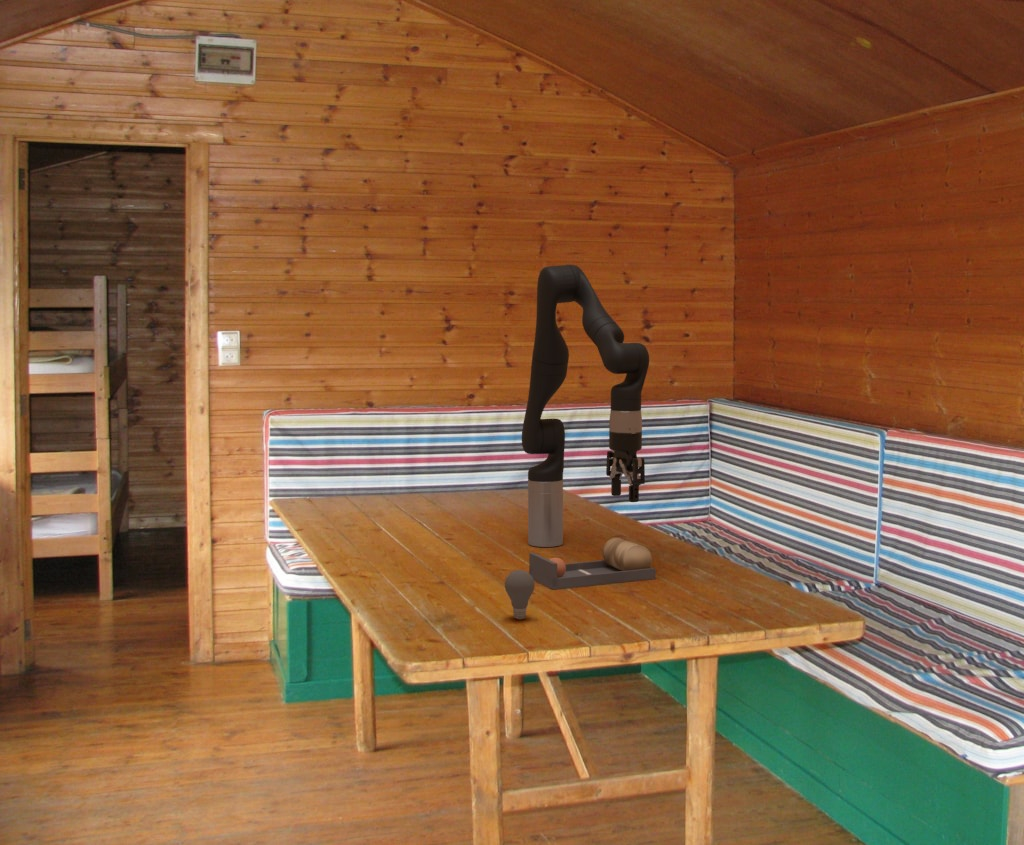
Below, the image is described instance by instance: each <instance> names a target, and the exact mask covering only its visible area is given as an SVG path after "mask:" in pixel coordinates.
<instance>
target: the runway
mask: <svg viewBox="0 0 1024 845" xmlns="http://www.w3.org/2000/svg"><path fill="white" fill-rule="evenodd" d="M528 554H529V555H528V556H529V557H528V560H529V561H528V563H529V564H528V565H529V572H528V573H529V574H530V575H531V576H532V577H533V579H534V582H535V581H536V582H537V583H539V584H541V585H543V586H544V587H547V588H549V589H551V590H554V591H555V590H563V589H572V588H573V589H574V588H583V587H590V586H591V587H593V586H599V585H600V586H601V585H608V584H609V585H610V584H619V583H627V582H639V581H647V580H655V579H656V570H657V569H656V568H655V567H650V568H647V569H637V570H628V571H621V570H619V569H617V568H614V567H612V566H610V565H608V564H607V563H606V562H605V561H604V559H600V560H590V561H581V562H579V561H578V562H572V563H570V562H569V563H565V565H566V571H565V574H564V575H563V576H562V577H560V578H557V563H555V562H553V561H550V560H549V559H548V558H547V557H544V556H542V555H540V554H537V553H535V552H529V553H528Z"/></svg>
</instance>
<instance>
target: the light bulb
mask: <svg viewBox="0 0 1024 845" xmlns="http://www.w3.org/2000/svg"><path fill="white" fill-rule="evenodd" d="M535 586H536V584H535V580H534V579H533V577H532V576H531V575H530V574H529V572H528V571H526V570H523V569H516V570H515V569H514V570H513V571H511V572H509V574H508V575H507V577H506V578H505V581H504V588H505V592H506V593H507V595H508V597H509V599H510V602H511V603H510V604H511V606H512V613H513V615H512V616H513V618H514V619H517V620H519V621H521V620H523V619H526V618H527V607H528V605H529V600H530V597H531V596H532V594H533V593H534V590H535Z"/></svg>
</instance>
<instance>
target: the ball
mask: <svg viewBox="0 0 1024 845" xmlns="http://www.w3.org/2000/svg"><path fill="white" fill-rule="evenodd" d="M548 560H550V561H553V562H555V563H557V578H560V577H562V576H563V575H564V574H565V571H566V565H565V564H566V563H565V561H564V560H562V559H561V558H559V557H550V558H549V559H548Z"/></svg>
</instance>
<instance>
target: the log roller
mask: <svg viewBox="0 0 1024 845" xmlns="http://www.w3.org/2000/svg"><path fill="white" fill-rule="evenodd" d="M601 552H602V554H601V555H602V560H604V561H605V562H606V563H607V564H608V565H610V566H612V567H614V568H617V569H619V570H621V571H628V570H637V569H647V568H651V566H652V562H653V560H652V553H651V551H650V550H649V549H648V548H647V547H645V546H643V545H640V544H637V543H634V542H633V541H630V540H626V539H623V537H616V536H615V537H612V538H609V539H608V540H607V541H606V542H605V543H604V545H603V546H602V551H601Z"/></svg>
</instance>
